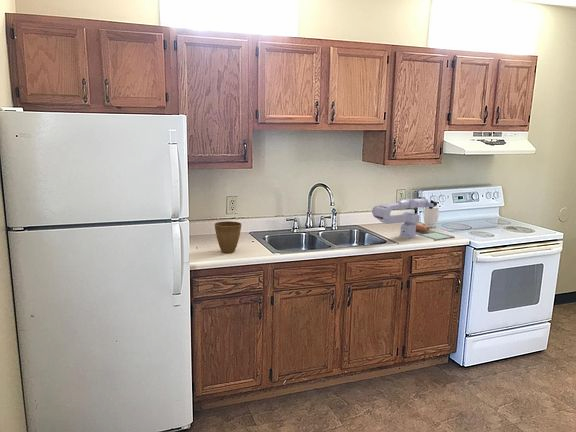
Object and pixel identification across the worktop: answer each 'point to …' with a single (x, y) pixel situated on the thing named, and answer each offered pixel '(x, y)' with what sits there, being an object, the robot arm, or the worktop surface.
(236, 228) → the plant pot
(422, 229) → the t block
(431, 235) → the mat
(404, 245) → the worktop surface
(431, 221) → the jar
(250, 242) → the worktop surface
